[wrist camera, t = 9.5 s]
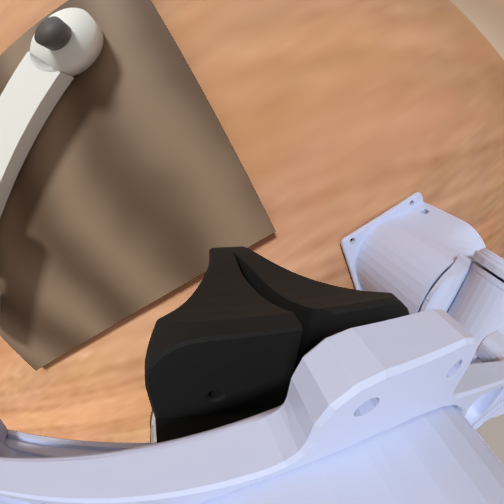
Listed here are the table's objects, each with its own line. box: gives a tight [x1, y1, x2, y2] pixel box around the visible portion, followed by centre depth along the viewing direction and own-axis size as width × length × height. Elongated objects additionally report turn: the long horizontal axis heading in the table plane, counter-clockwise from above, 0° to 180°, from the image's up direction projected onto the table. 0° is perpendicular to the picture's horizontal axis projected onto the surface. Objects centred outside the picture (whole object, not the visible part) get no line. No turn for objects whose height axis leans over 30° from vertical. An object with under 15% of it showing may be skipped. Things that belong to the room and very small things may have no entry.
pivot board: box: [0, 0, 276, 370], centre depth 14 cm, size 26×22×6 cm
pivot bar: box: [0, 8, 103, 218], centre depth 12 cm, size 18×4×2 cm, turn 139°
